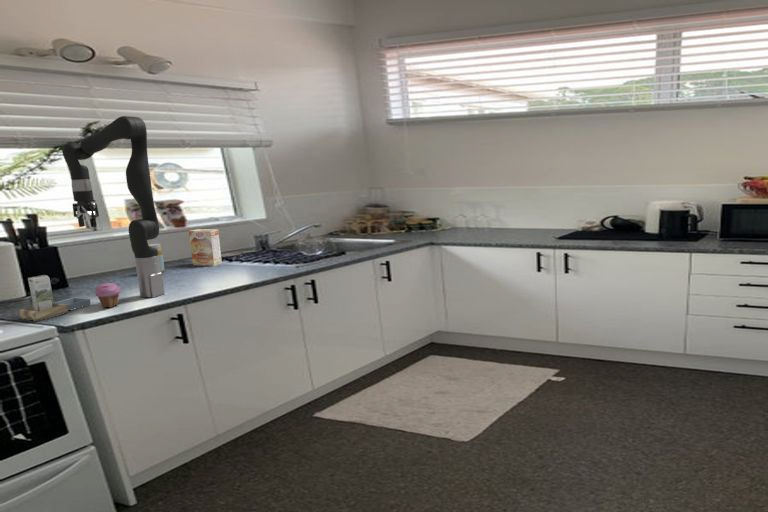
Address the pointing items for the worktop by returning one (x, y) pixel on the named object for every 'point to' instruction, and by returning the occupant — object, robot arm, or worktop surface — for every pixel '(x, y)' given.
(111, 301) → the cupcake
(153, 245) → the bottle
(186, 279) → the worktop surface
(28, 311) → the tray
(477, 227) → the worktop surface
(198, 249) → the coffeecake box
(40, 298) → the syrup box
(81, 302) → the blue-grey shallow square dish
